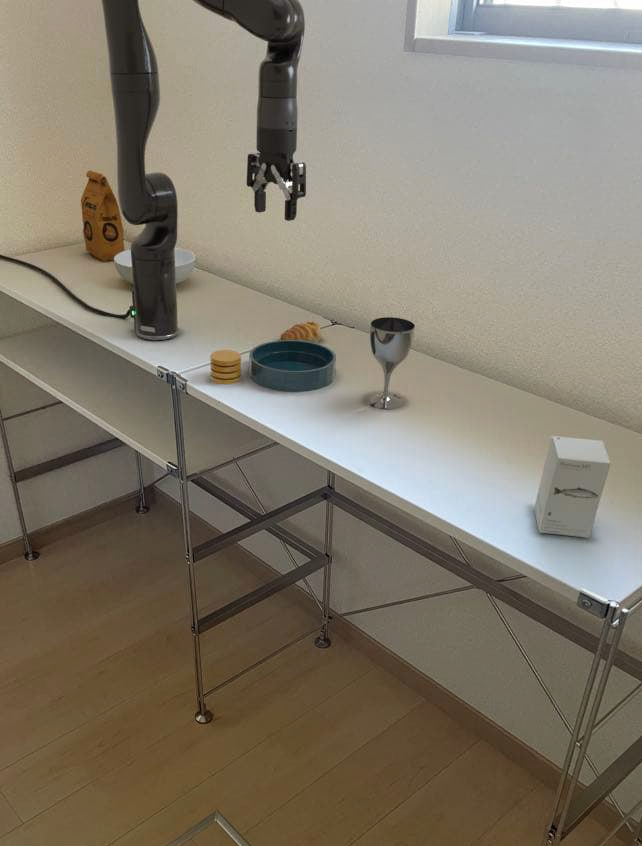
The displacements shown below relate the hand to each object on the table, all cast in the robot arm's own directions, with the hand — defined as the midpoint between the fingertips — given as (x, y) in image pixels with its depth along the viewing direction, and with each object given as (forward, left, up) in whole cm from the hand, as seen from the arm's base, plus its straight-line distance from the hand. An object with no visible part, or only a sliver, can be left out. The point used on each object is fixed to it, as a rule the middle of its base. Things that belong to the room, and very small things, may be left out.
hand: (274, 215), depth 161 cm
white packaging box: (+78, -13, -28) cm, 84 cm away
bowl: (+12, -6, -28) cm, 31 cm away
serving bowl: (-56, +10, -28) cm, 64 cm away
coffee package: (-86, +14, -28) cm, 92 cm away
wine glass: (+32, 0, -28) cm, 43 cm away
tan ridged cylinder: (+5, -17, -28) cm, 33 cm away
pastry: (-1, +10, -28) cm, 30 cm away
